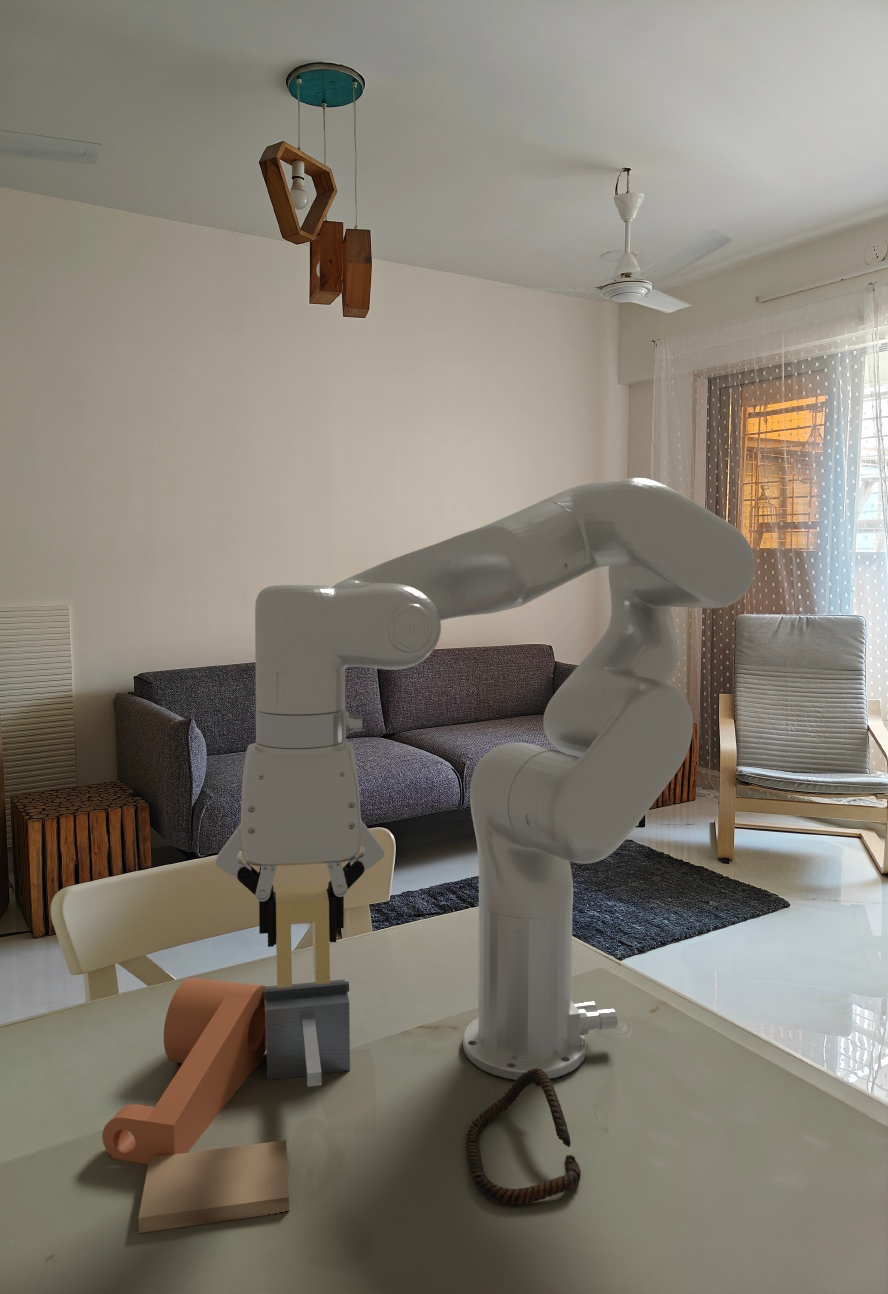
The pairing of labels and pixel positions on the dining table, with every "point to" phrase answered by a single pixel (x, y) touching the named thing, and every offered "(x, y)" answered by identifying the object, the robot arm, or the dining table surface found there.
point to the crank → (195, 1068)
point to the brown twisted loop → (560, 1124)
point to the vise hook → (307, 1030)
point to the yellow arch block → (300, 909)
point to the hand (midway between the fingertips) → (301, 936)
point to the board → (214, 1186)
